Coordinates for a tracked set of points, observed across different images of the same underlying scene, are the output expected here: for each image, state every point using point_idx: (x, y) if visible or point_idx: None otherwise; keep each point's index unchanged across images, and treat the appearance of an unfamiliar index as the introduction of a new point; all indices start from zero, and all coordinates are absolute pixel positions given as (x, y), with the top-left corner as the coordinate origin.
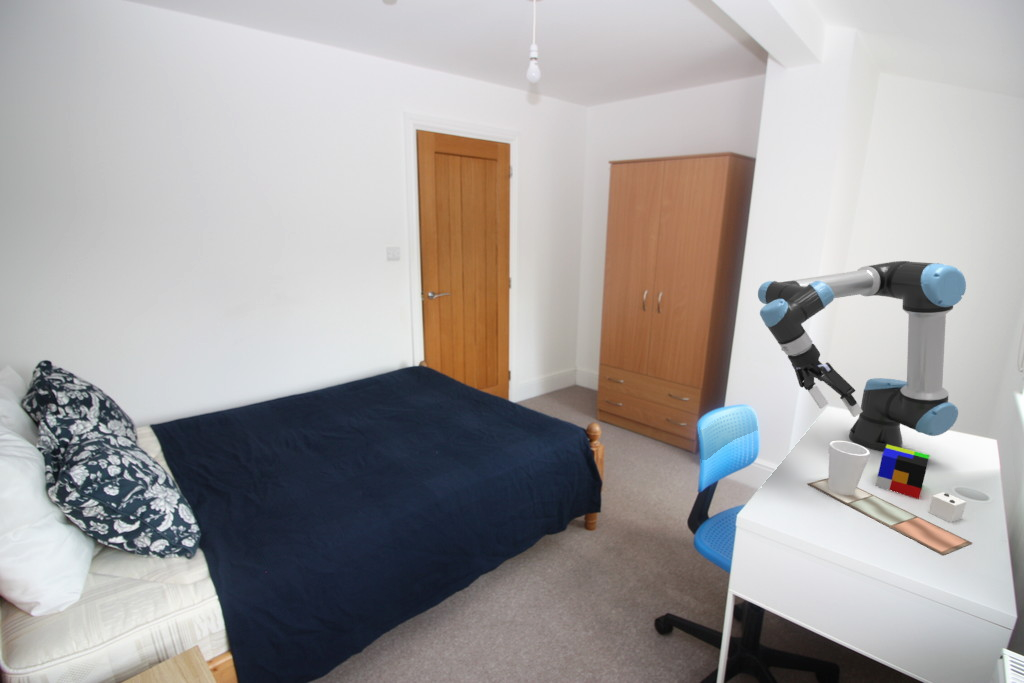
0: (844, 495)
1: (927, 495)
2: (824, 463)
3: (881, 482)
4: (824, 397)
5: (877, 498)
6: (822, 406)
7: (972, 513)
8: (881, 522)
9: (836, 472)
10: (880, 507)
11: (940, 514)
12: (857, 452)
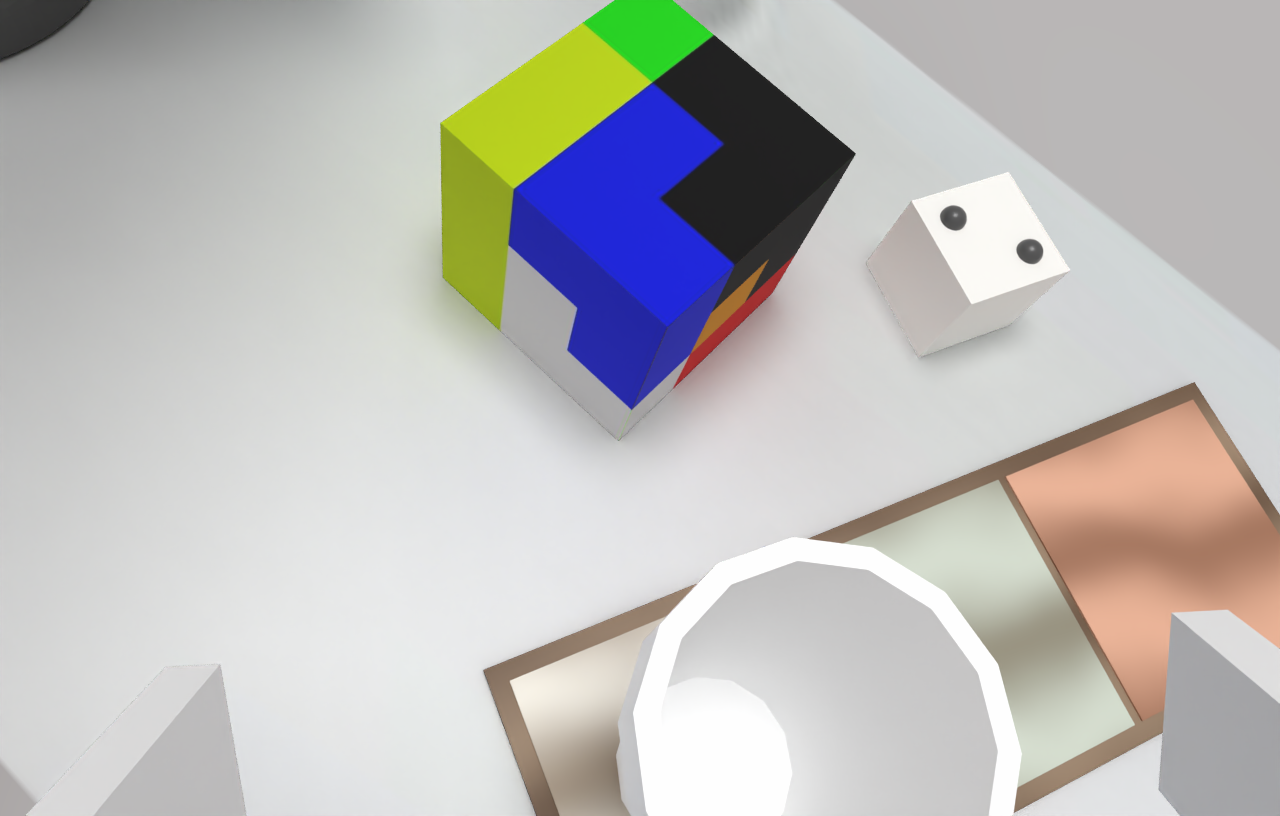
0: None
1: None
2: (235, 596)
3: (646, 407)
4: (141, 761)
5: None
6: (231, 810)
7: (893, 140)
8: (1107, 761)
9: None
10: None
11: (976, 332)
12: (744, 595)
